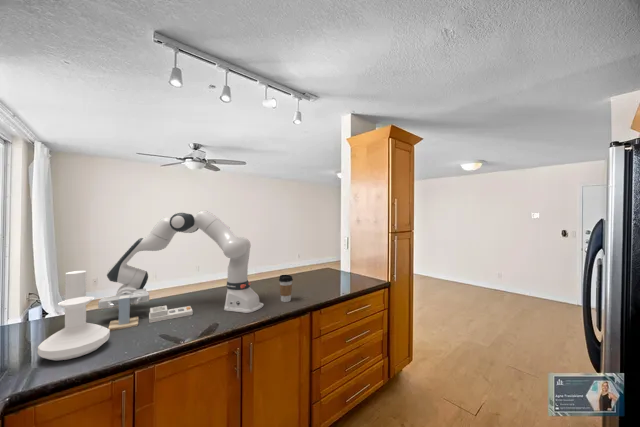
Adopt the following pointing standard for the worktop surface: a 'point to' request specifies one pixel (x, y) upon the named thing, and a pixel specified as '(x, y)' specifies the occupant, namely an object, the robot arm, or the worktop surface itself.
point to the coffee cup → (285, 287)
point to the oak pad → (115, 324)
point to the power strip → (168, 313)
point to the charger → (124, 309)
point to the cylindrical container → (74, 286)
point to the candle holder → (74, 333)
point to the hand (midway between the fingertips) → (124, 304)
